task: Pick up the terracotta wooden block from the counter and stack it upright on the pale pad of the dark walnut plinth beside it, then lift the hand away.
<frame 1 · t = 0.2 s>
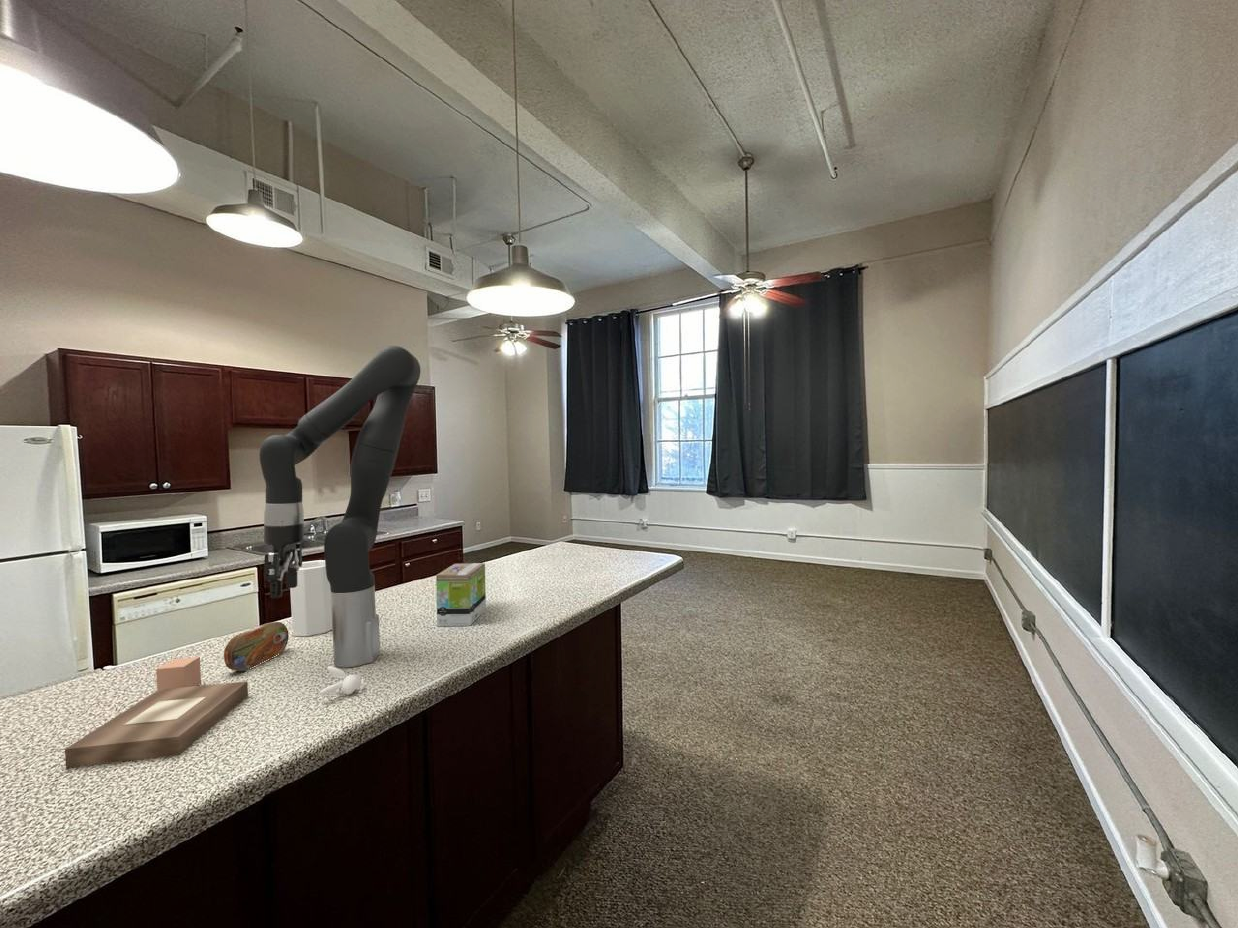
hand: (284, 592, 115), 17 cm above the countertop, tool pointing down, fingers open, 8 cm apart
plinth: (168, 727, 91), on the countertop
tin: (258, 663, 119), on the countertop
rabbit figurine: (340, 696, 101), on the countertop
cup: (314, 630, 140), on the countertop
block: (180, 690, 105), on the countertop
tea box: (462, 618, 147), on the countertop
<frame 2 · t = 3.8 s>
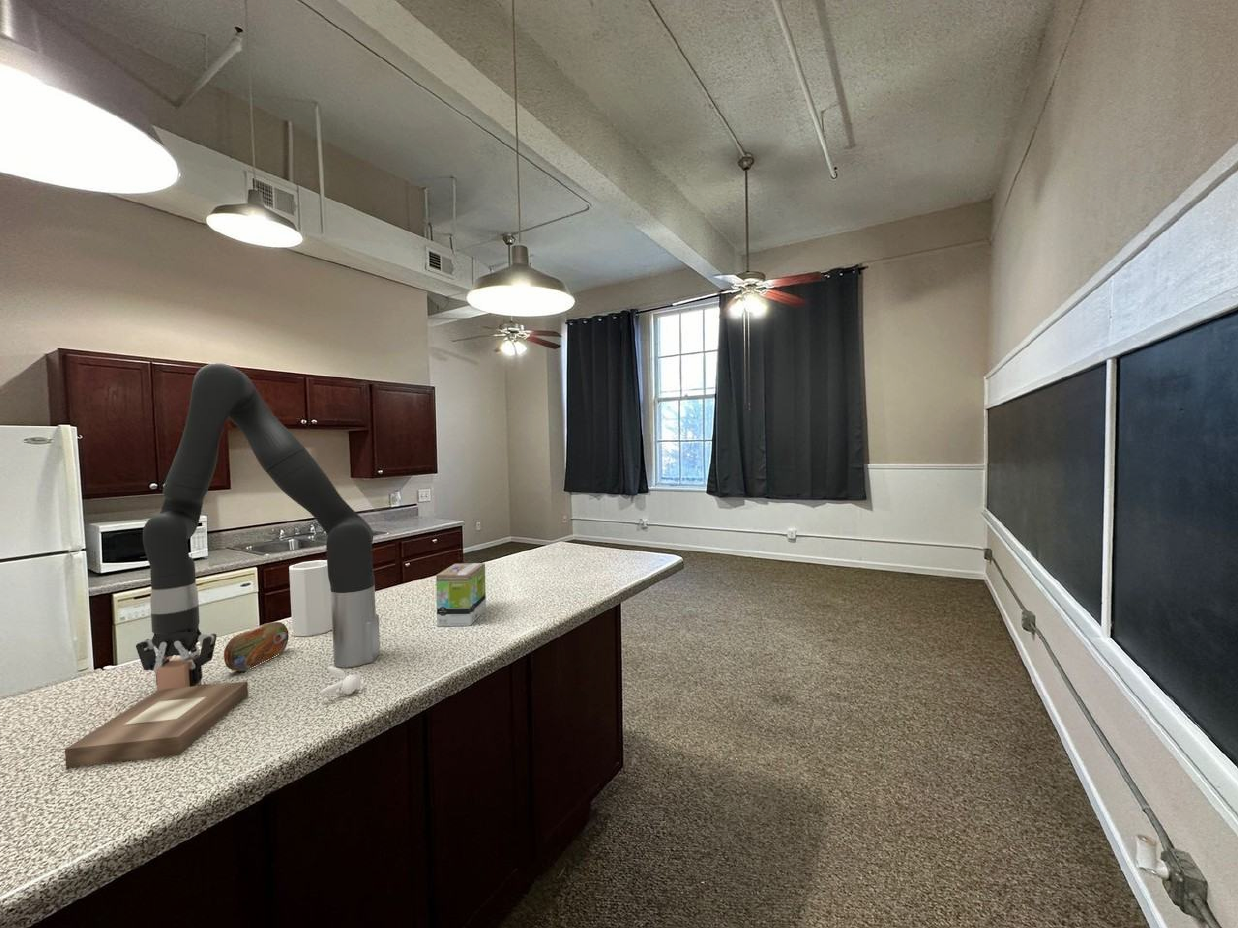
hand: (179, 685, 105), 1 cm above the countertop, tool pointing down, fingers closed on block, 5 cm apart
block: (180, 690, 105), on the countertop, touching gripper
everything else where it was.
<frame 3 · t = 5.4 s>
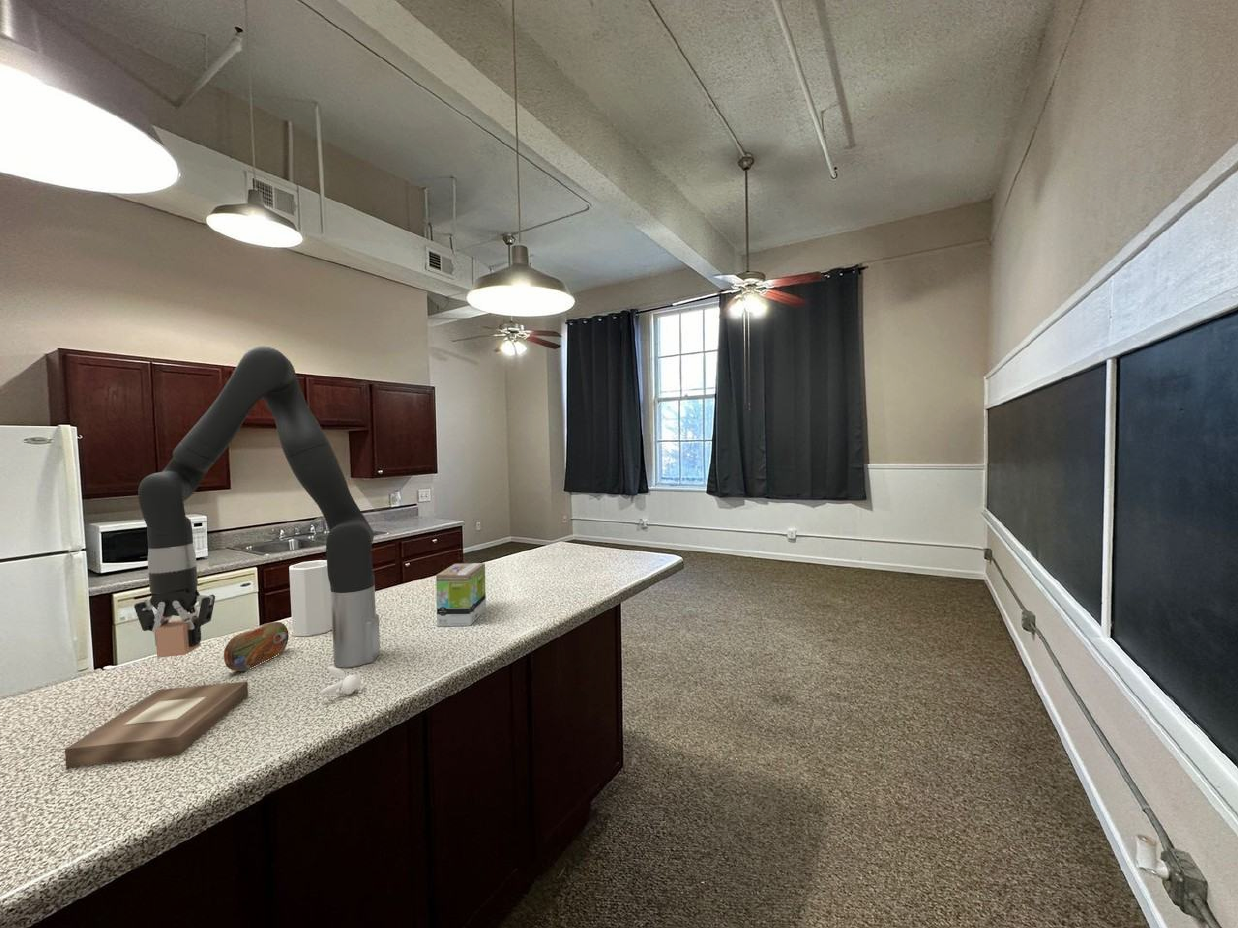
hand: (179, 646, 105), 9 cm above the countertop, tool pointing down, fingers closed on block, 5 cm apart
block: (179, 651, 105), point 8 cm above the countertop, touching gripper
everything else where it was.
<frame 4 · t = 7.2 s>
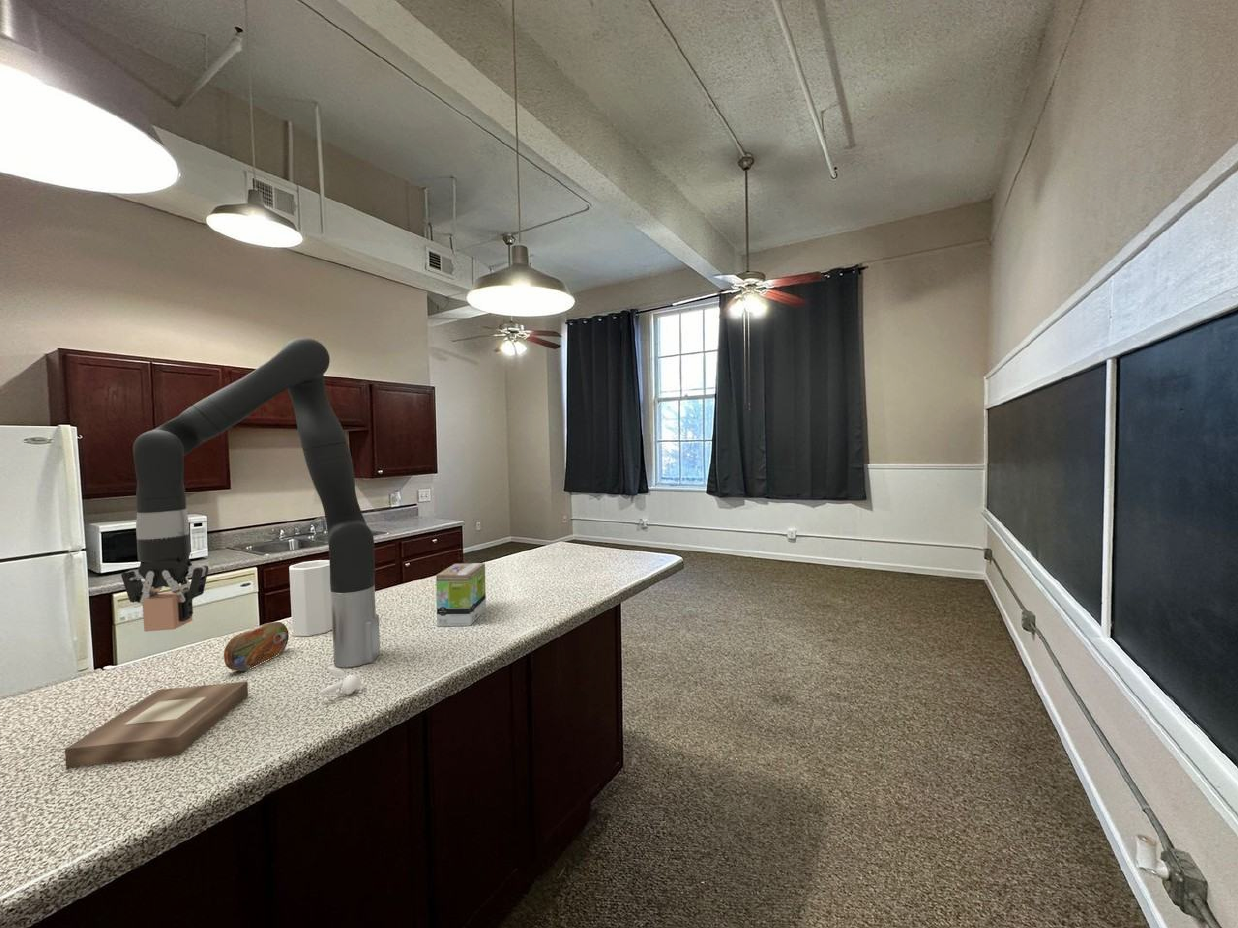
hand: (168, 620, 97), 17 cm above the countertop, tool pointing down, fingers closed on block, 5 cm apart
block: (169, 625, 97), point 16 cm above the countertop, touching gripper
everything else where it was.
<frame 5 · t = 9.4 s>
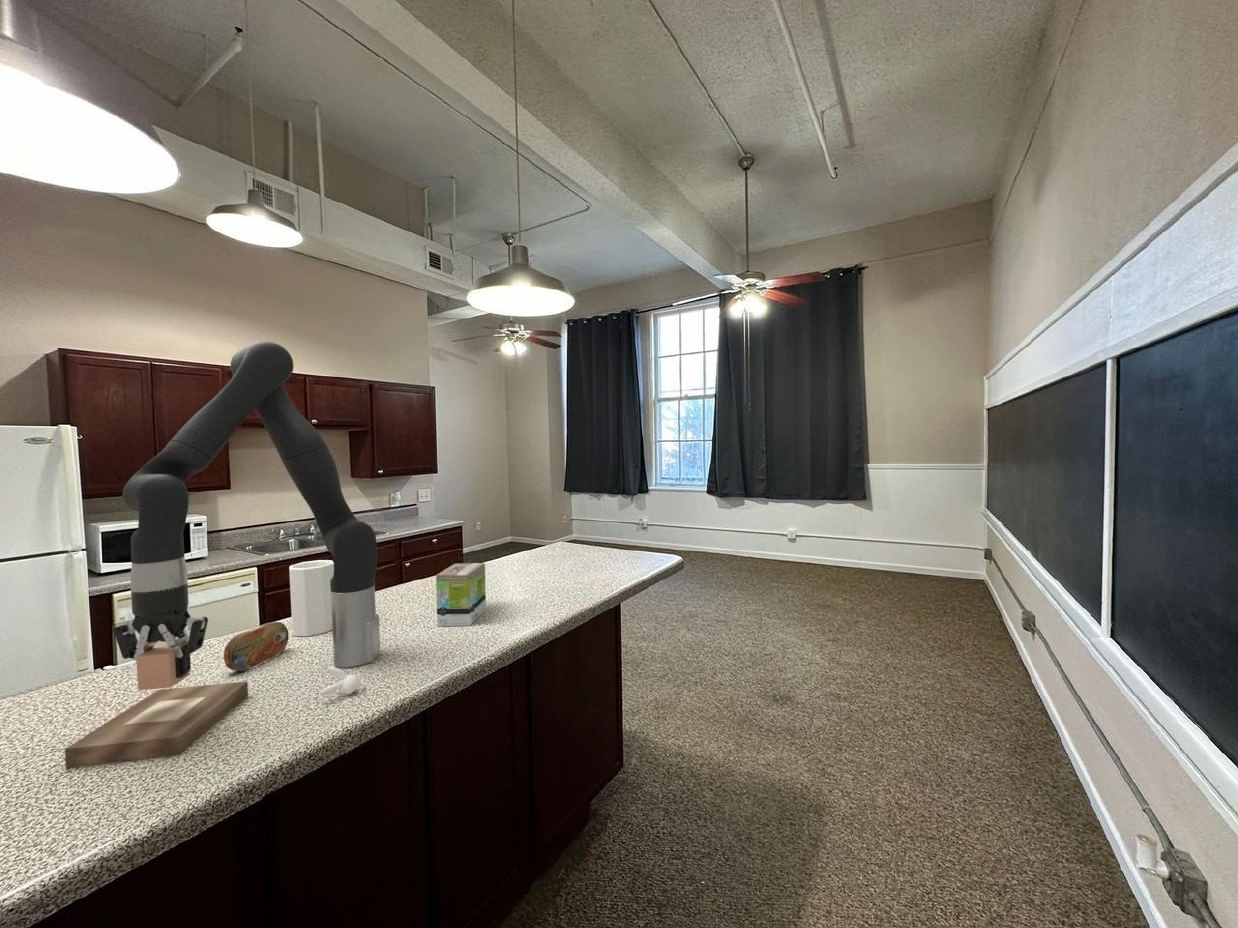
hand: (164, 677, 90), 9 cm above the countertop, tool pointing down, fingers closed on block, 5 cm apart
block: (164, 682, 90), point 8 cm above the countertop, touching gripper
everything else where it was.
when the fingers open (5 cm above the countertop, at t = 11.0 s): block drops 1 cm, resting on plinth.
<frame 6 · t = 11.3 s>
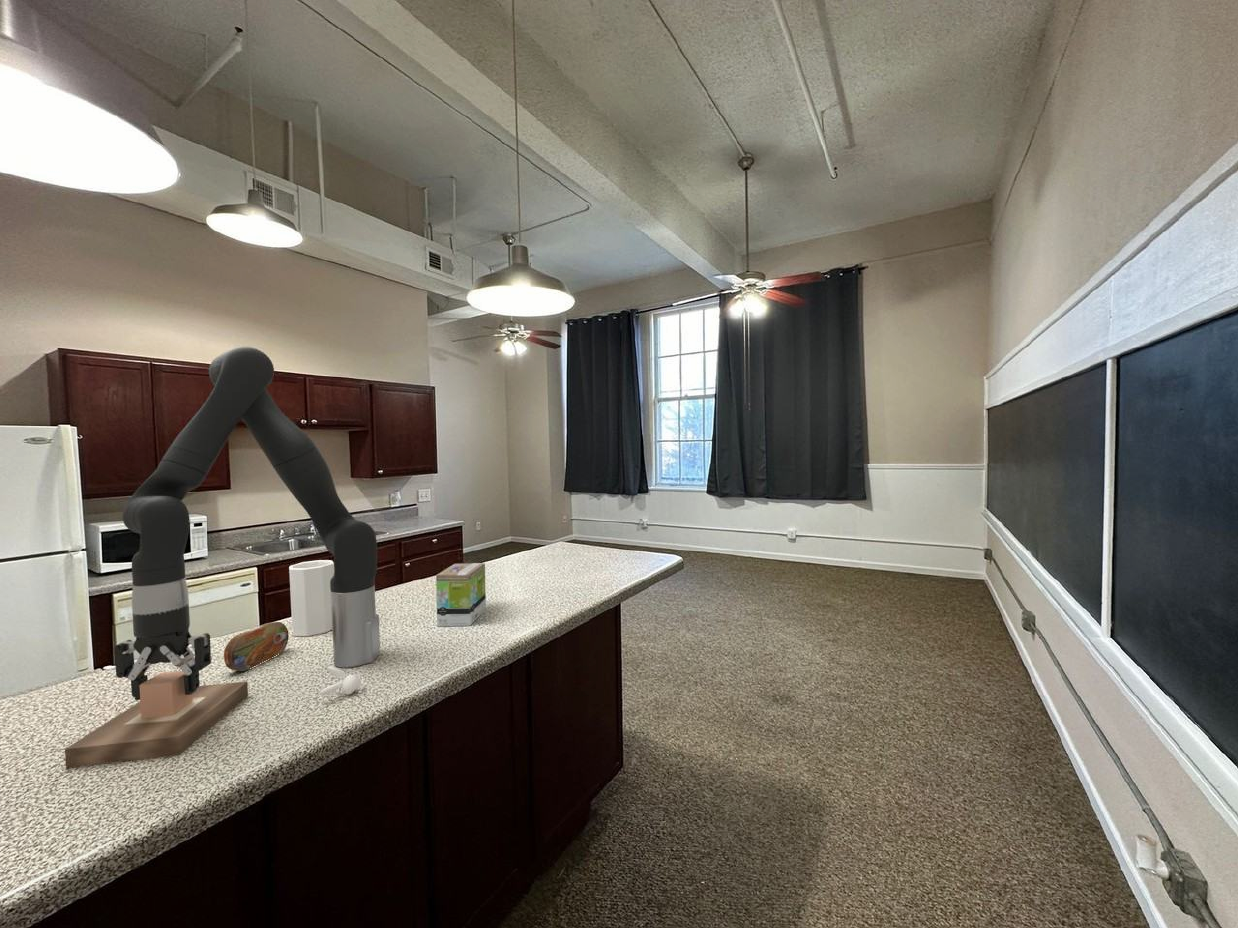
hand: (166, 695, 91), 6 cm above the countertop, tool pointing down, fingers open, 7 cm apart
block: (167, 709, 91), point 3 cm above the countertop, touching plinth
everything else where it was.
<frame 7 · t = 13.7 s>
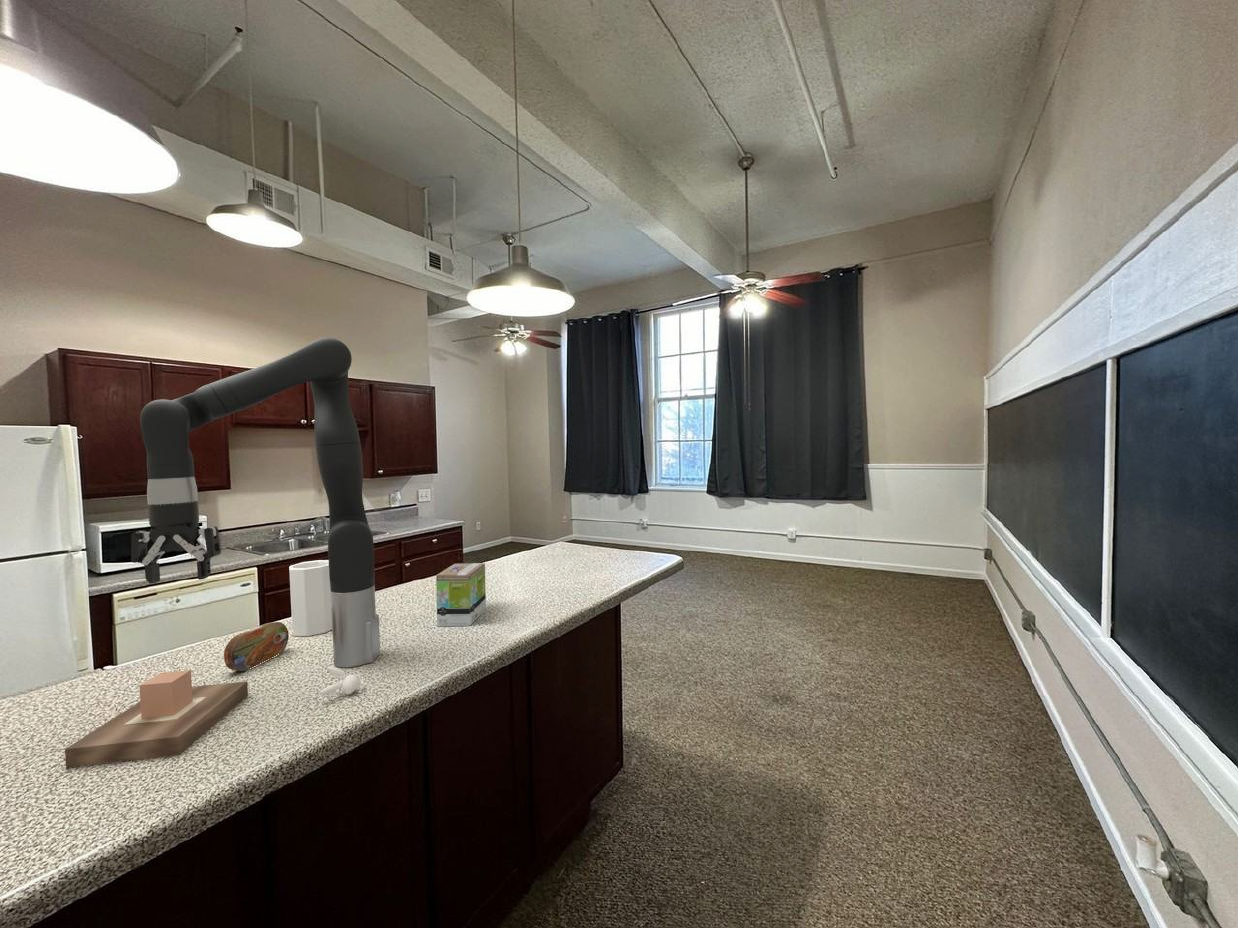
hand: (179, 580, 101), 24 cm above the countertop, tool pointing down, fingers open, 8 cm apart
nothing on the countertop moved.
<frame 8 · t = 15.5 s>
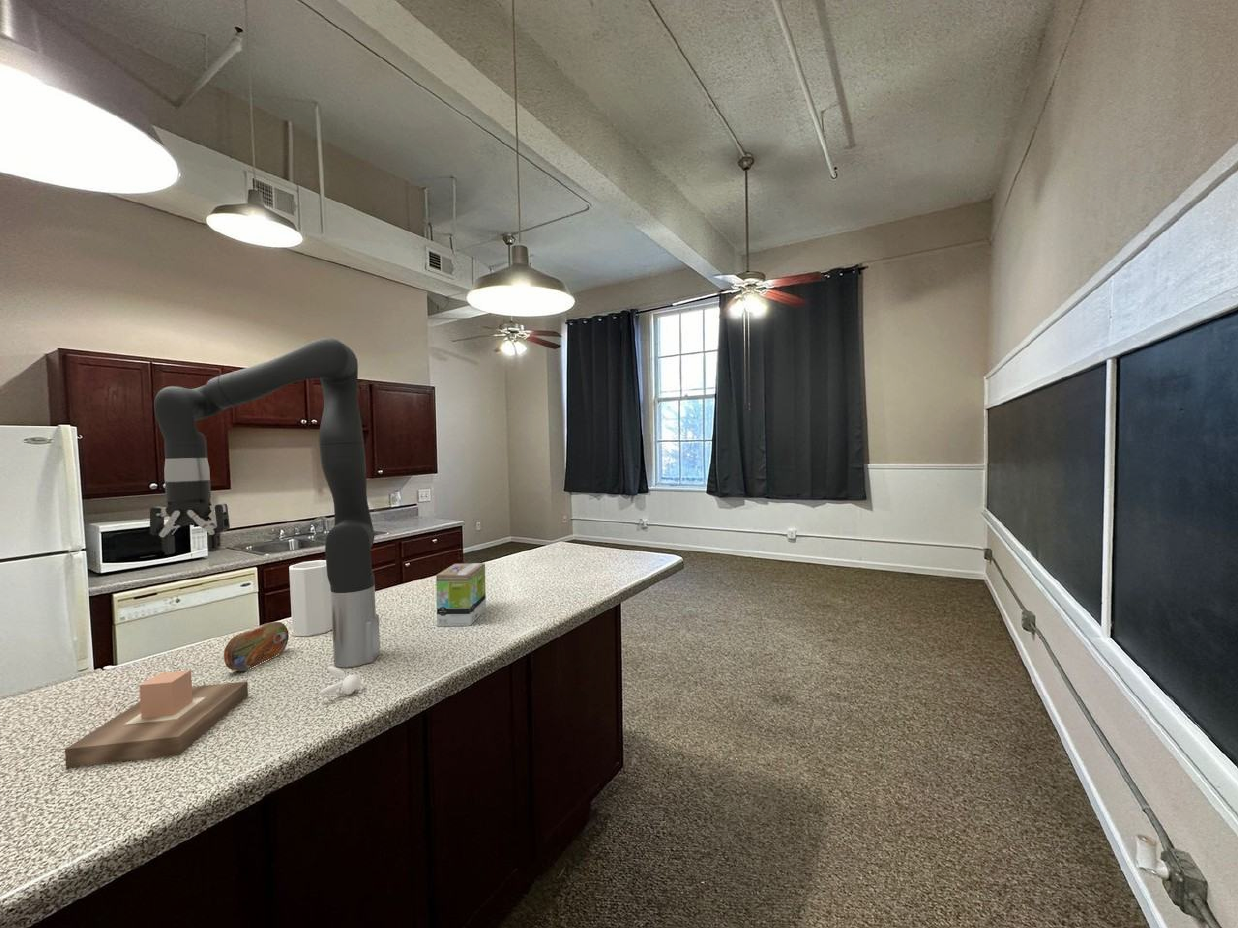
hand: (191, 552, 110), 28 cm above the countertop, tool pointing down, fingers open, 8 cm apart
nothing on the countertop moved.
at the end: block inside the target area on the plinth (0.1 cm from its centre), point 3.2 cm above the plinth's base; block tilted 0°; the gripper is holding nothing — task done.
